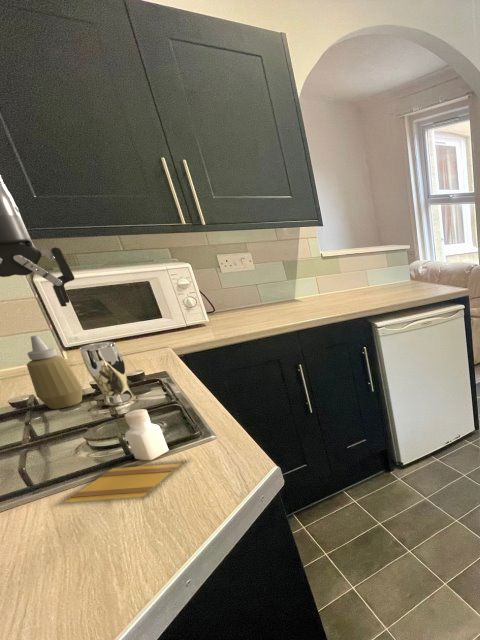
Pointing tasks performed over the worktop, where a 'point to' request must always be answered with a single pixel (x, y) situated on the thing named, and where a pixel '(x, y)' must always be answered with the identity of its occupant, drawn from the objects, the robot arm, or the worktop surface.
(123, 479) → the towel
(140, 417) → the pepper shaker
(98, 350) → the beer glass
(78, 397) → the squeeze bottle
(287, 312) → the worktop surface
